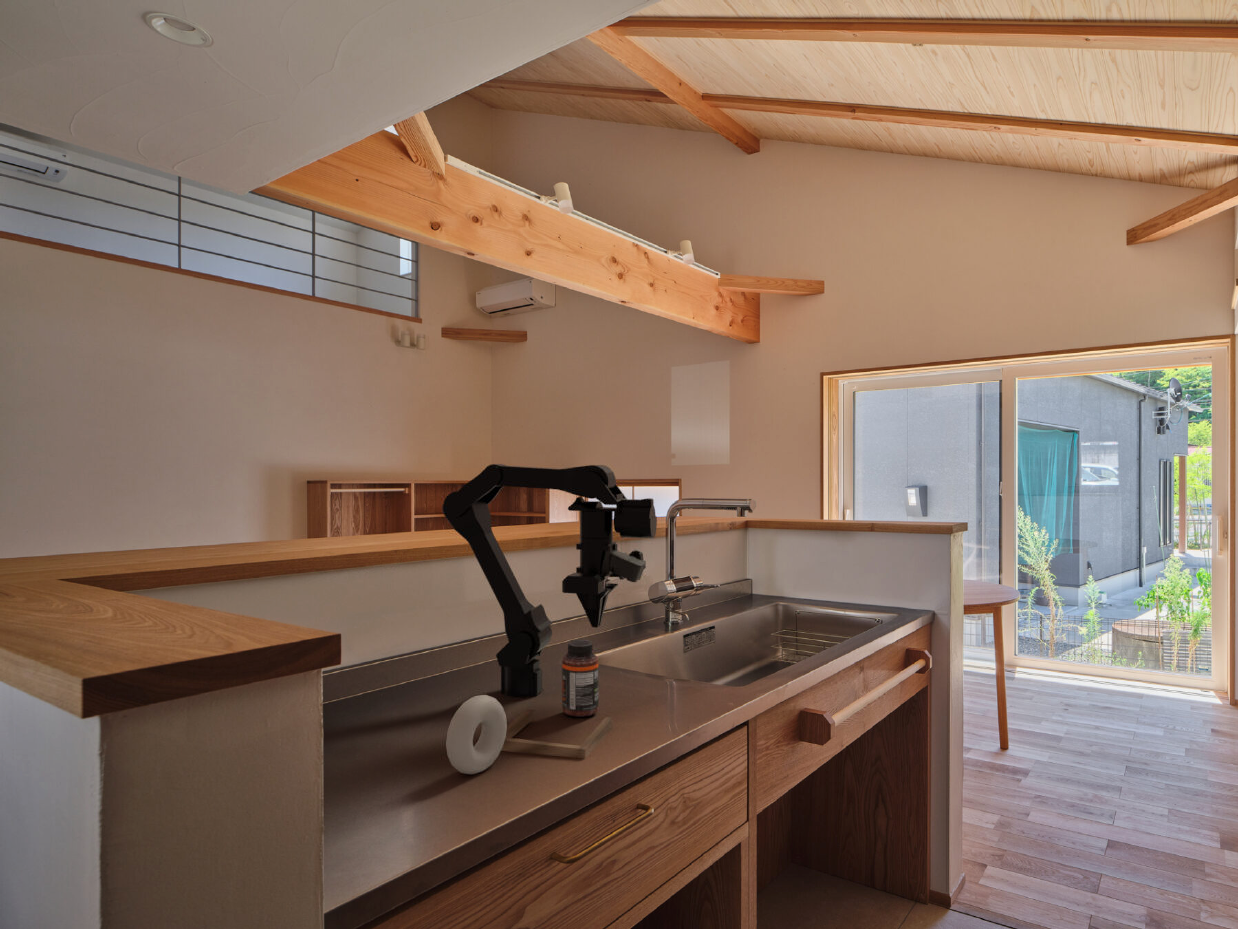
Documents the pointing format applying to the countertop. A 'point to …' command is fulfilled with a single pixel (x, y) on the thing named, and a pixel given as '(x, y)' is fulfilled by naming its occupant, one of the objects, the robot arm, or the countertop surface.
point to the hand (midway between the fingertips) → (596, 626)
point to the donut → (463, 730)
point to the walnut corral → (548, 747)
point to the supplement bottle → (580, 679)
